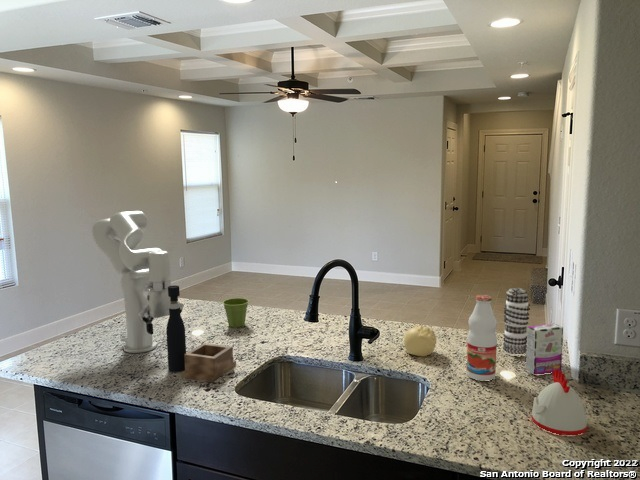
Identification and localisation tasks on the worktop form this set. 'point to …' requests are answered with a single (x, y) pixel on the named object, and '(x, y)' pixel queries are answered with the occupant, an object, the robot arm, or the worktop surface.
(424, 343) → the pale yellow round lump
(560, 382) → the white and red dome
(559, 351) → the candy bar box
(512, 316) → the decorative candle
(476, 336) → the fruit juice
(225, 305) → the plant pot
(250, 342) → the worktop surface
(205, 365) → the bottle stand
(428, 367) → the worktop surface
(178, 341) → the black water bottle
